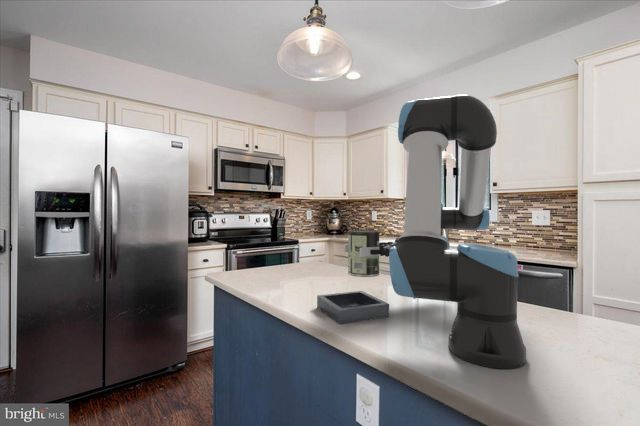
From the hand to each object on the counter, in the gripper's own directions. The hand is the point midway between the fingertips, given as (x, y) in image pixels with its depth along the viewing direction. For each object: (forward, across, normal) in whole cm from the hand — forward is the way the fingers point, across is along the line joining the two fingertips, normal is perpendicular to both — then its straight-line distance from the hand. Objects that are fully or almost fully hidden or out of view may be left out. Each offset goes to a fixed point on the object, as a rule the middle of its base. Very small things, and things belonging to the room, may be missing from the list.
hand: (352, 250), depth 104 cm
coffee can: (-4, 0, -8) cm, 9 cm away
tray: (+3, -6, -18) cm, 19 cm away
